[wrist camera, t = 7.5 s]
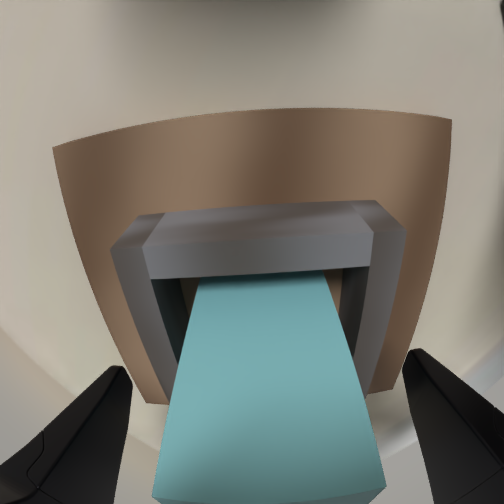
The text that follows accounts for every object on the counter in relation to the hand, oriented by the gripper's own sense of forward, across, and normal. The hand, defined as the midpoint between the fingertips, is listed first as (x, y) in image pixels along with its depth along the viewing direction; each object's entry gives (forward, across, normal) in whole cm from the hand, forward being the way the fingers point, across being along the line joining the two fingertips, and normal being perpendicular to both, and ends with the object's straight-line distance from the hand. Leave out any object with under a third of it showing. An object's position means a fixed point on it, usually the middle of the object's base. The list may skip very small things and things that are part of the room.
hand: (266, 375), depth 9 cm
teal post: (+4, 0, 0) cm, 4 cm away
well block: (+4, 0, 0) cm, 4 cm away
